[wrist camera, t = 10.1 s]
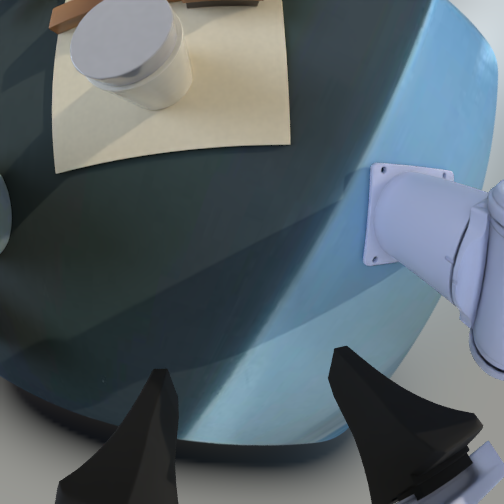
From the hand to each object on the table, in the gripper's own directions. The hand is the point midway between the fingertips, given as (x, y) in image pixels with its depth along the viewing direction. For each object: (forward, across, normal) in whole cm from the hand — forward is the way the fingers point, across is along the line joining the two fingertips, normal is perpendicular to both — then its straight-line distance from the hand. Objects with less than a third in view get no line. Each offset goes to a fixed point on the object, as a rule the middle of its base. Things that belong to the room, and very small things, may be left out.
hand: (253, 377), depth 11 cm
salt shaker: (+9, +4, -14) cm, 17 cm away
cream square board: (+9, +4, -17) cm, 20 cm away
